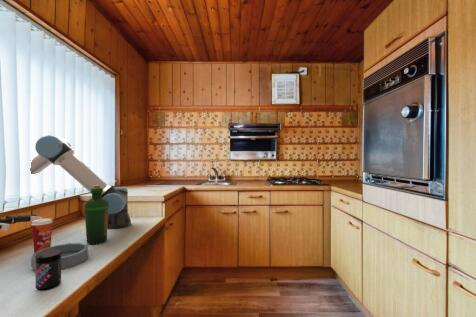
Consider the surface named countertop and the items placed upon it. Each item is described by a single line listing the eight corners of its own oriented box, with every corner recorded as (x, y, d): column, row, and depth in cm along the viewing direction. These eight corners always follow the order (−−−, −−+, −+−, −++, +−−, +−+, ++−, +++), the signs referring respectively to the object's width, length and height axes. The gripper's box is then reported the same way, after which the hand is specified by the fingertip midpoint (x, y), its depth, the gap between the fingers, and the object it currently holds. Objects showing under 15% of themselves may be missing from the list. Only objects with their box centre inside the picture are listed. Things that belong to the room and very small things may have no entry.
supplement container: (34, 285, 80) (34, 253, 80) (60, 279, 85) (60, 248, 85) (35, 294, 75) (35, 259, 75) (62, 286, 80) (62, 254, 80)
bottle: (114, 240, 125) (113, 184, 125) (95, 247, 115) (95, 186, 115) (98, 238, 129) (97, 183, 129) (78, 244, 119) (78, 186, 119)
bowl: (87, 250, 111) (87, 240, 111) (88, 264, 96) (88, 253, 96) (36, 259, 102) (36, 248, 102) (27, 276, 87) (27, 264, 87)
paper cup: (41, 255, 105) (40, 222, 105) (26, 254, 107) (26, 221, 107) (57, 249, 113) (57, 218, 113) (44, 248, 115) (43, 217, 115)
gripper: (22, 221, 131) (52, 224, 125) (-43, 235, 107) (-9, 240, 101) (22, 207, 131) (53, 209, 125) (-42, 217, 107) (-9, 221, 101)
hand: (25, 223), depth 113 cm, fingers open, 13 cm apart
